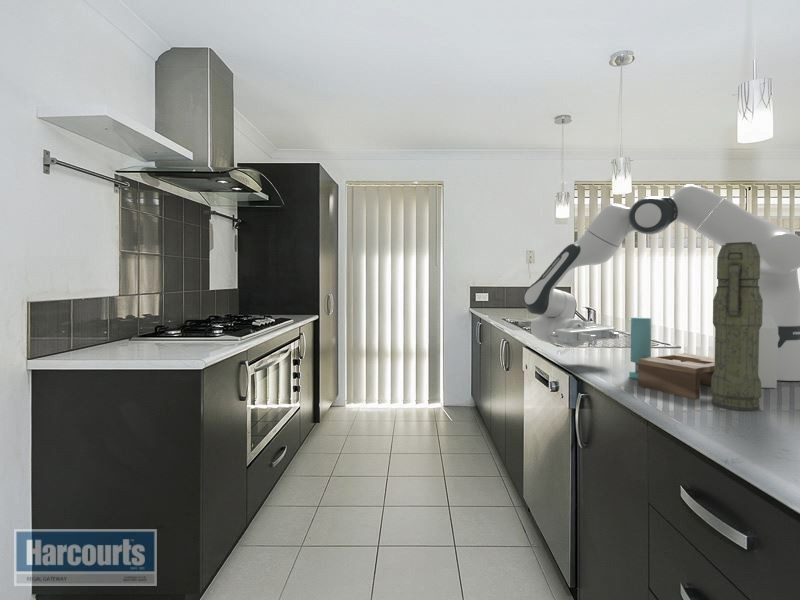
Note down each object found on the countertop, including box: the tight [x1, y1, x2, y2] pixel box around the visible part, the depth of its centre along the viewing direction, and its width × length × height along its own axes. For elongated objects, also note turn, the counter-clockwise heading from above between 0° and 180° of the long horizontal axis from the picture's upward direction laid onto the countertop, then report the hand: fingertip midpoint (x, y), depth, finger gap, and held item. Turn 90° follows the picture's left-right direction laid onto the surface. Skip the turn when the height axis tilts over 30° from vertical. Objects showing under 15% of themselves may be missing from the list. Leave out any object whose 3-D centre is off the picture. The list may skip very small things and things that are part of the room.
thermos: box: [710, 242, 763, 412], centre depth 106 cm, size 9×12×35 cm
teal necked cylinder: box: [628, 316, 652, 381], centre depth 136 cm, size 6×6×16 cm
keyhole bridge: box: [637, 352, 715, 400], centre depth 123 cm, size 18×15×7 cm
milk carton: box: [758, 311, 778, 389], centre depth 125 cm, size 7×7×19 cm
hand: (606, 337), depth 146 cm, fingers open, 8 cm apart
